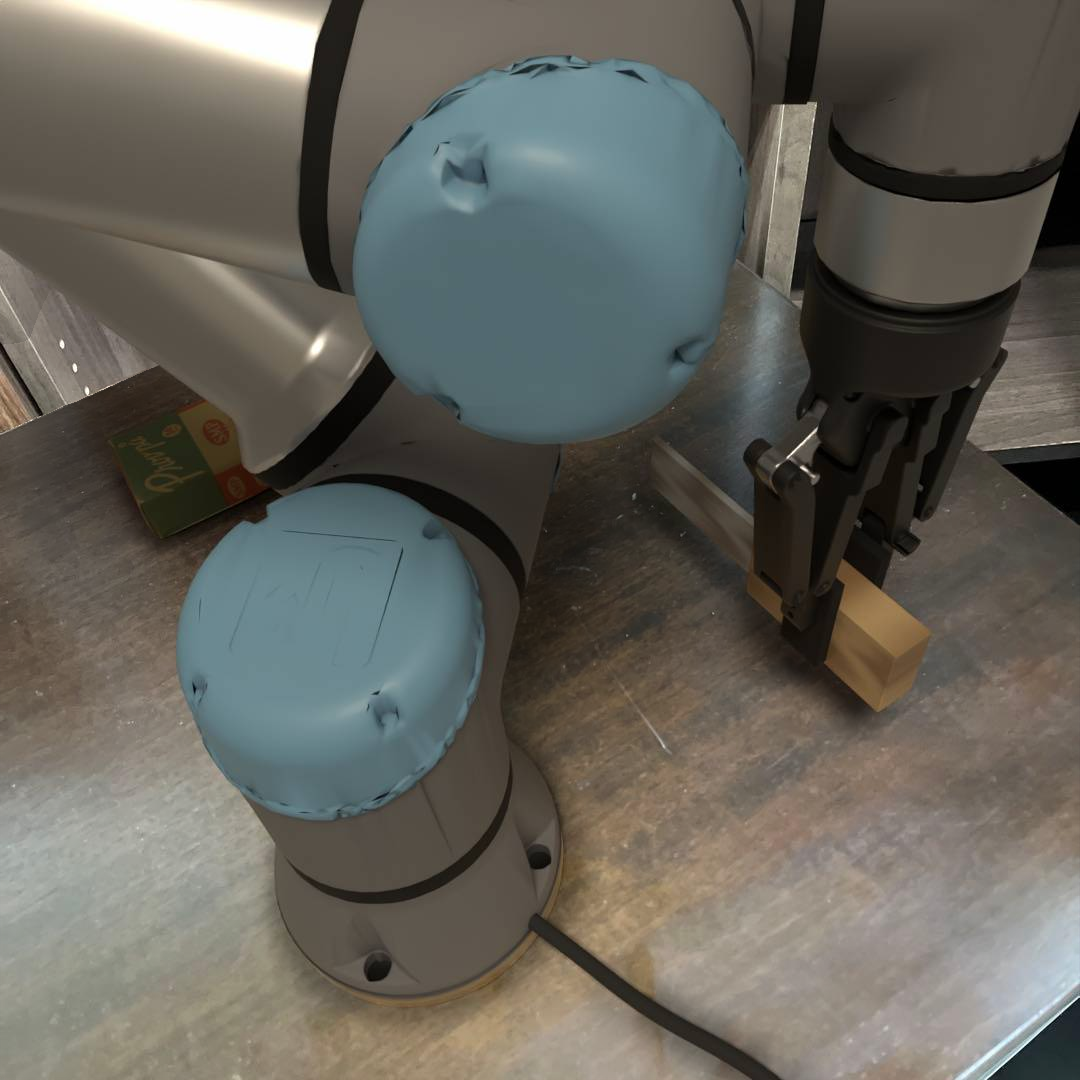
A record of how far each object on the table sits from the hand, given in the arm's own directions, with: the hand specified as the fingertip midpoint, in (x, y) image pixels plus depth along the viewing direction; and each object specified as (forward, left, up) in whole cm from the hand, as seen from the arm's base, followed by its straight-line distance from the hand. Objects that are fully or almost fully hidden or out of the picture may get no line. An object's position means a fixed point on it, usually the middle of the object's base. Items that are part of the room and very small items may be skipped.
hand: (824, 632), depth 54 cm
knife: (+5, 0, 0) cm, 5 cm away
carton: (+41, +20, -6) cm, 46 cm away
